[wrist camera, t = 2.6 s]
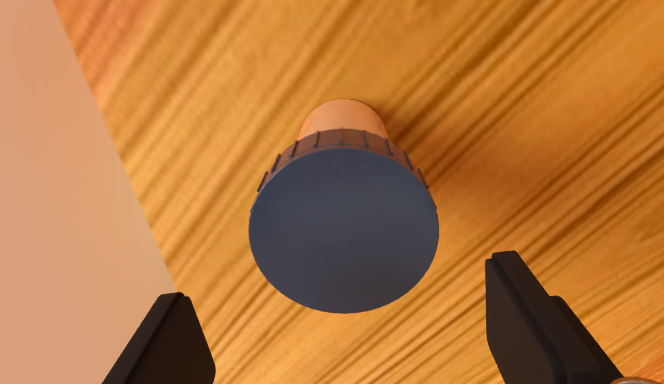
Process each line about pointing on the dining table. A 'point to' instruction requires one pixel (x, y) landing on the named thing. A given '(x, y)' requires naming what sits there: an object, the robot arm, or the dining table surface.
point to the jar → (343, 118)
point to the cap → (343, 222)
